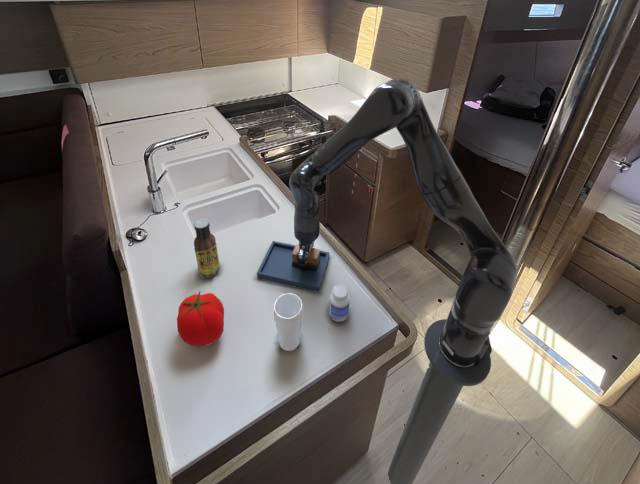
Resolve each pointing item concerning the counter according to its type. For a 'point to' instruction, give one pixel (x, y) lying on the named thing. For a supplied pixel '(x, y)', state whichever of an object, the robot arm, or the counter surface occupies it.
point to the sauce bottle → (206, 249)
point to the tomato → (200, 319)
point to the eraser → (312, 259)
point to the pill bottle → (339, 303)
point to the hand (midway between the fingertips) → (306, 262)
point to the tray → (291, 268)
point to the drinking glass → (288, 320)
